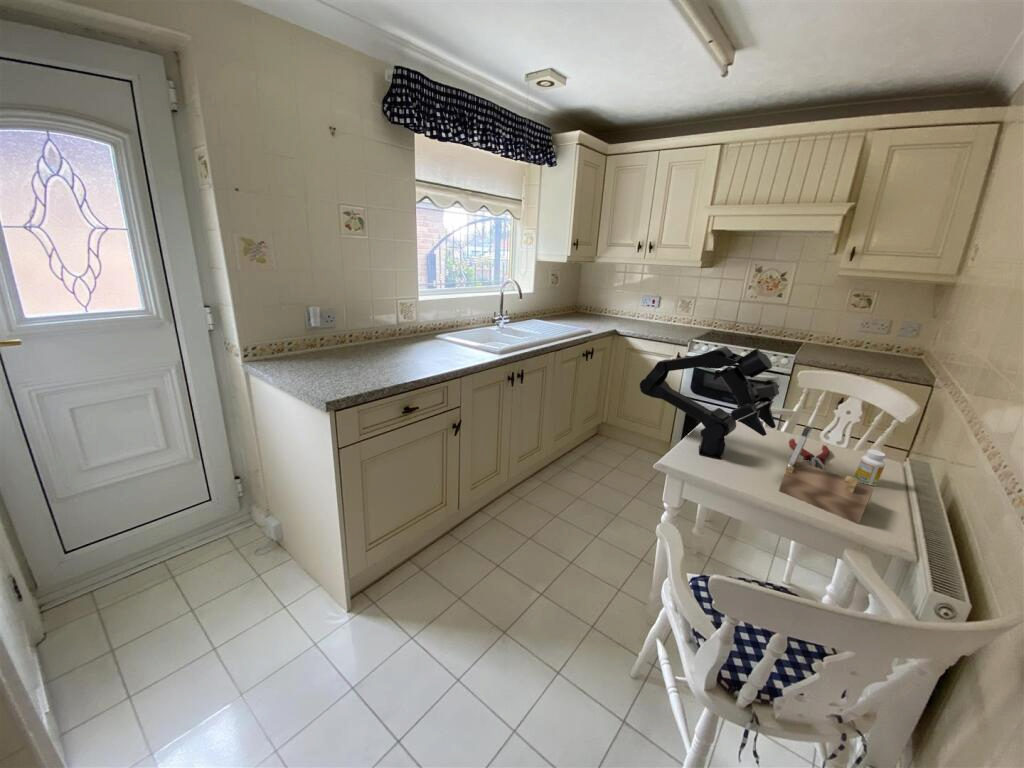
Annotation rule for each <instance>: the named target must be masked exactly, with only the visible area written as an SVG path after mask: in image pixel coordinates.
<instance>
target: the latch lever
mask: <svg viewBox="0 0 1024 768" xmlns="http://www.w3.org/2000/svg"><path fill="white" fill-rule="evenodd" d="M812 429H813V426H809V425H807V426H805V428H804V429H803V431H802V433H801V435H800V438H799V439H798V441H797V443H796V444H797V446H796V448H795V450H793V451H792V454H791V457H790V458H789V461H788V464H787V465H786V467H787V466H791V467H793V466H794V465H795V464H796V462H797V460H798V459H799V457H800V456H801V455H800V453H801V451H802V449H804V446H805V444H806V442H807V440H808V438H809V437H810V435H811V434H810V433H812V432H811V431H812Z"/></svg>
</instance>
